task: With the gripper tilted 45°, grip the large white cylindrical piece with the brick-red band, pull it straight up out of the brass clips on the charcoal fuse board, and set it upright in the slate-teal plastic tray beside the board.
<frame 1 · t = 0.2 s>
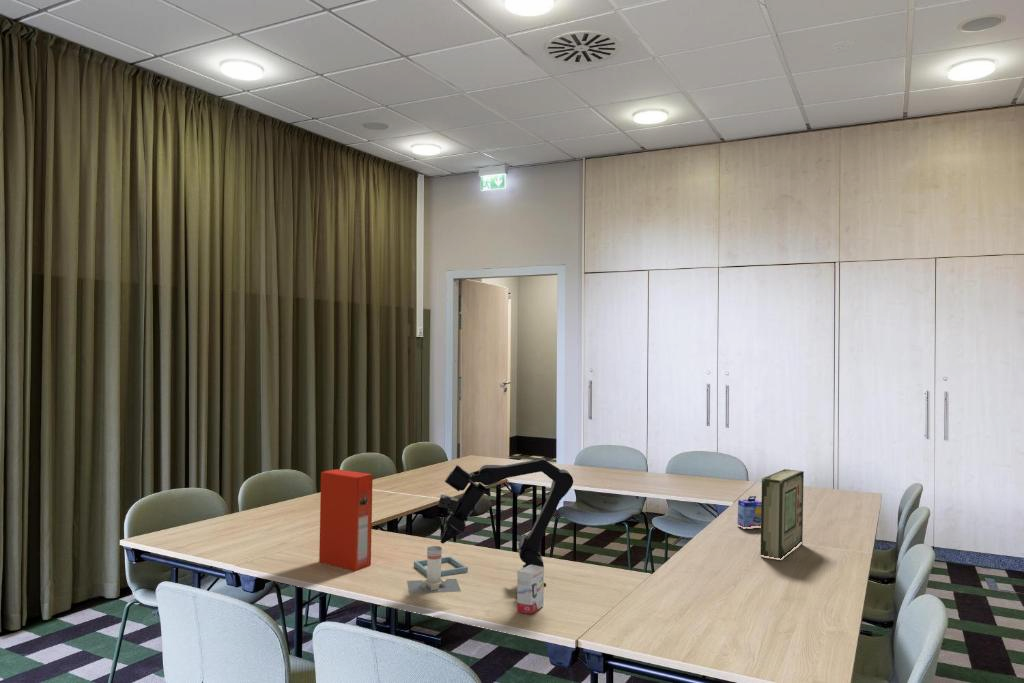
hand: (442, 538, 226), 15 cm above the table, tool tilted 35°, fingers open, 9 cm apart
white cylindrical piece: (433, 585, 220), point 1 cm above the table, touching fuse board
fuse board: (433, 589, 220), on the table
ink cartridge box: (749, 528, 309), on the table
control panel: (782, 551, 273), on the table
ink box: (530, 609, 205), on the table
tray: (440, 571, 237), on the table
file binder: (344, 564, 243), on the table
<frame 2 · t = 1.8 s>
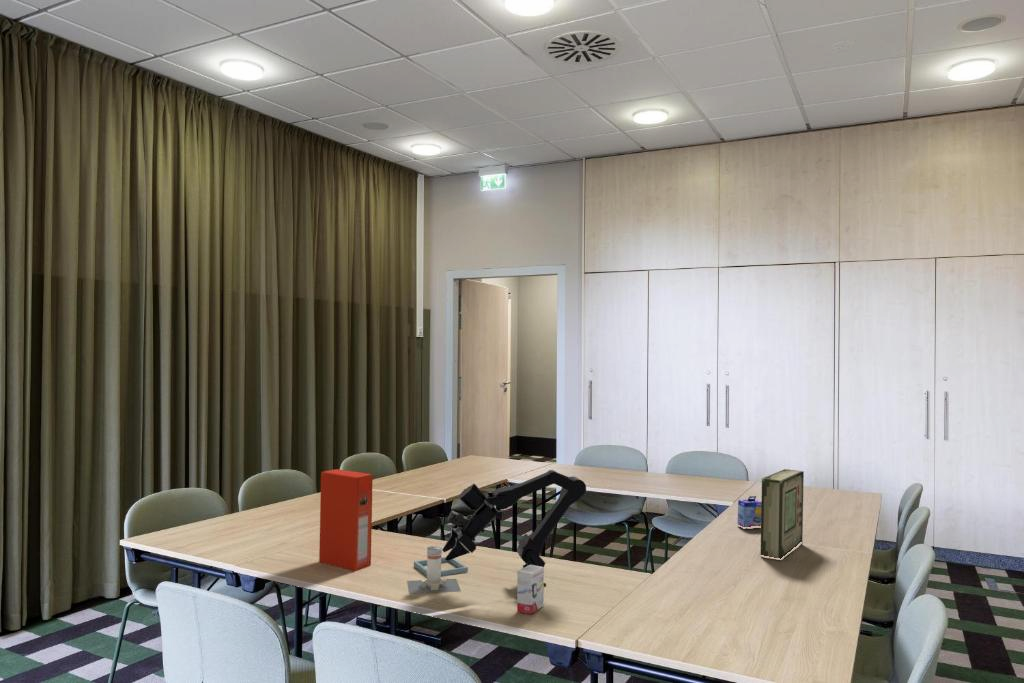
hand: (444, 555, 221), 11 cm above the table, tool tilted 45°, fingers open, 9 cm apart
nothing on the table moved.
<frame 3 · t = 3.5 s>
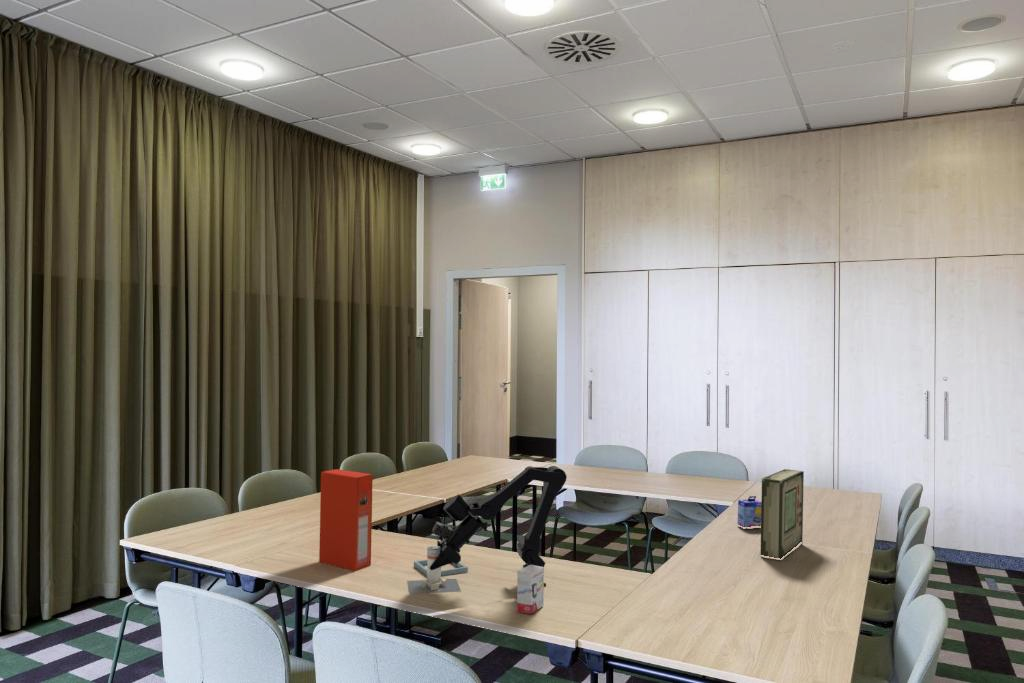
hand: (429, 566, 220), 7 cm above the table, tool tilted 45°, fingers closed on white cylindrical piece, 4 cm apart
white cylindrical piece: (433, 585, 220), point 1 cm above the table, touching fuse board, gripper
everything else where it was.
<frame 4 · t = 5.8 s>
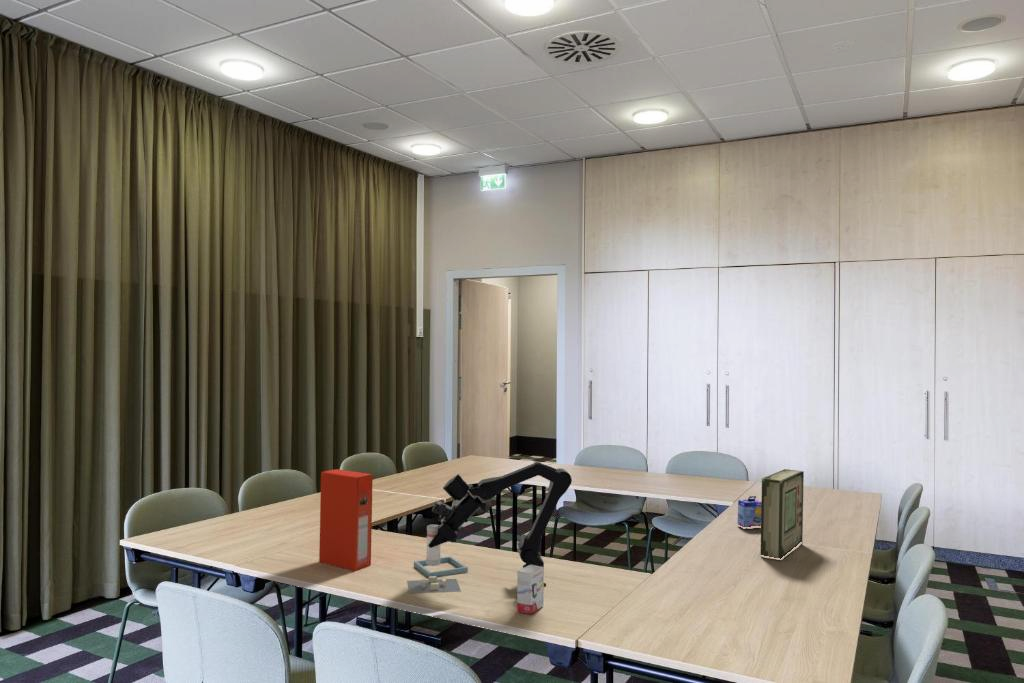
hand: (429, 544, 224), 13 cm above the table, tool tilted 45°, fingers closed on white cylindrical piece, 4 cm apart
white cylindrical piece: (433, 563, 224), point 7 cm above the table, touching gripper
everything else where it was.
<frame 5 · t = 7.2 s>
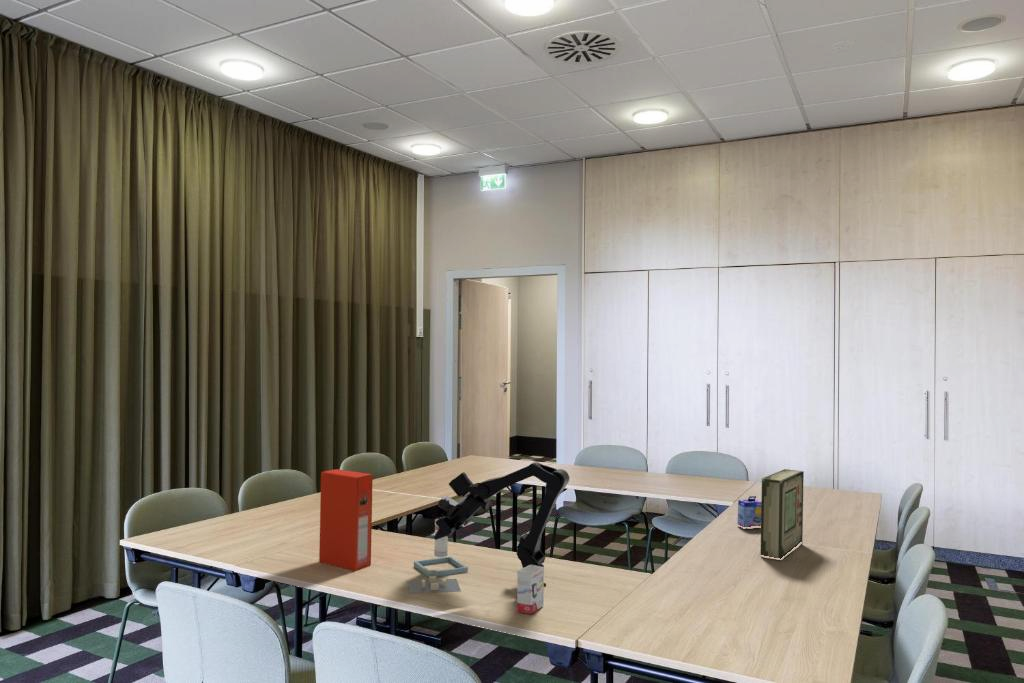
hand: (437, 536, 238), 12 cm above the table, tool tilted 45°, fingers closed on white cylindrical piece, 4 cm apart
white cylindrical piece: (440, 555, 238), point 6 cm above the table, touching gripper
everything else where it was.
when the fingers open (8 cm above the table, at t = 8.2 s): white cylindrical piece drops 1 cm, resting on tray.
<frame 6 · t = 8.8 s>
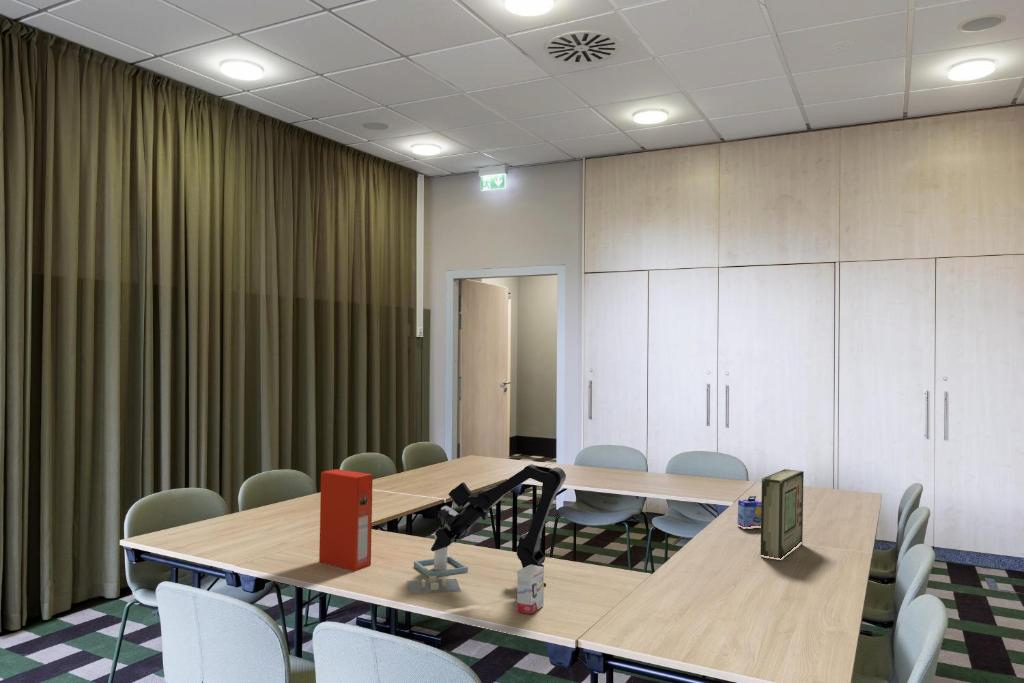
hand: (437, 546, 238), 8 cm above the table, tool tilted 45°, fingers open, 9 cm apart
white cylindrical piece: (440, 569, 237), point 1 cm above the table, touching tray
everything else where it was.
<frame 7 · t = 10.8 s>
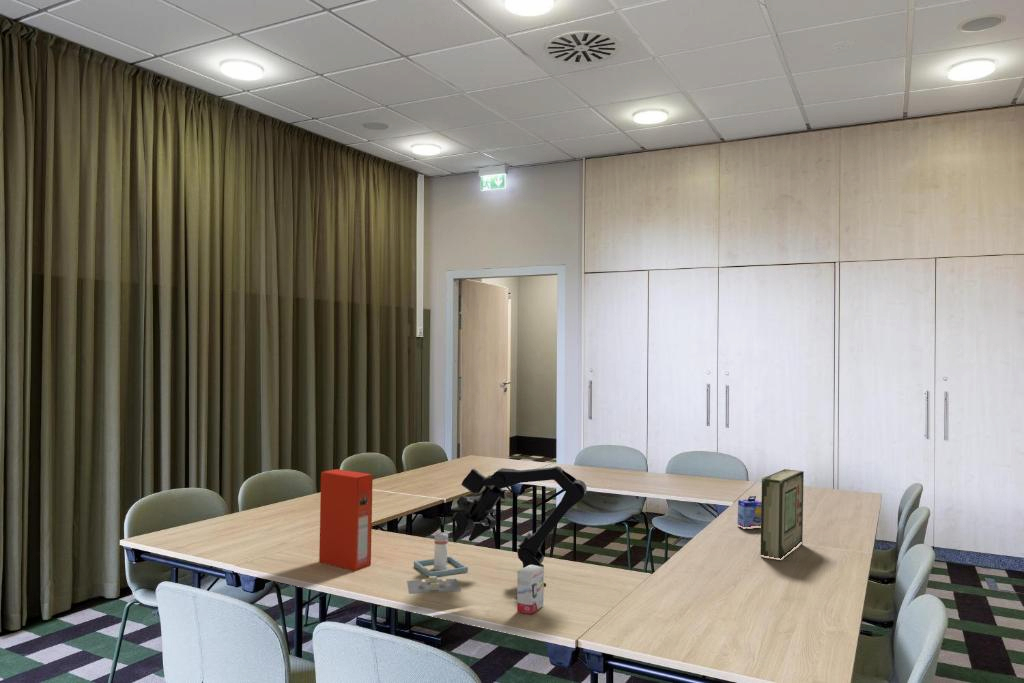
hand: (462, 540, 232), 12 cm above the table, tool tilted 30°, fingers open, 9 cm apart
nothing on the table moved.
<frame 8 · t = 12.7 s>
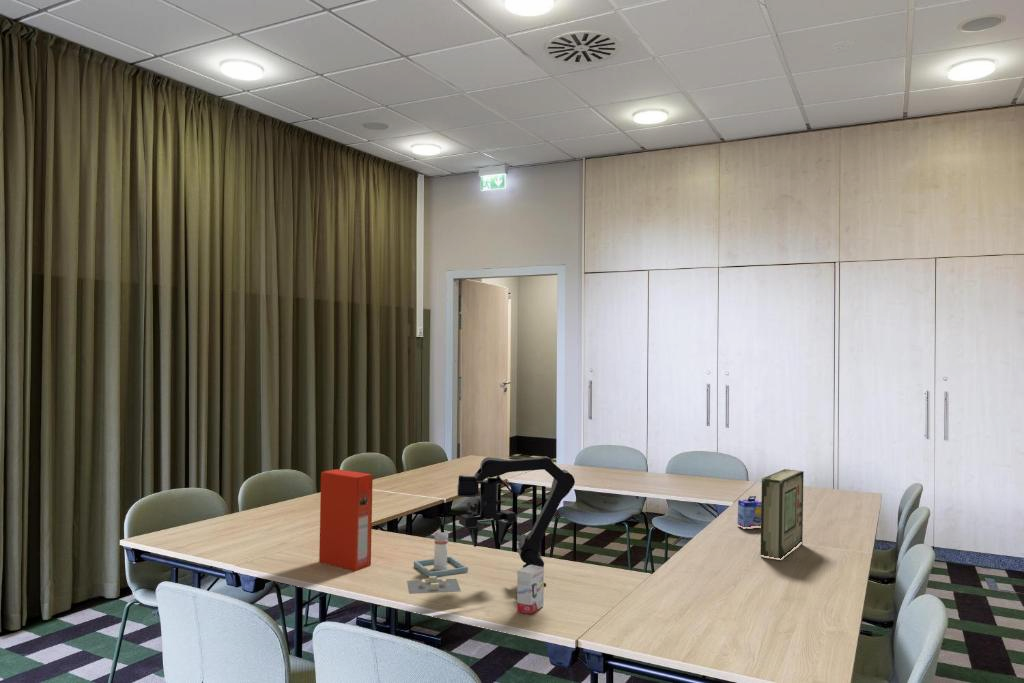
hand: (487, 544, 225), 13 cm above the table, tool pointing down, fingers open, 9 cm apart
nothing on the table moved.
at the end: white cylindrical piece inside the target area on the tray (0.0 cm from its centre), point 0.8 cm above the tray's base; white cylindrical piece tilted 0°; the gripper is holding nothing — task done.
